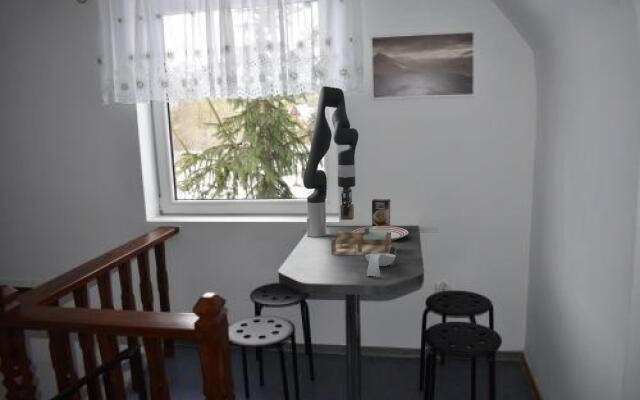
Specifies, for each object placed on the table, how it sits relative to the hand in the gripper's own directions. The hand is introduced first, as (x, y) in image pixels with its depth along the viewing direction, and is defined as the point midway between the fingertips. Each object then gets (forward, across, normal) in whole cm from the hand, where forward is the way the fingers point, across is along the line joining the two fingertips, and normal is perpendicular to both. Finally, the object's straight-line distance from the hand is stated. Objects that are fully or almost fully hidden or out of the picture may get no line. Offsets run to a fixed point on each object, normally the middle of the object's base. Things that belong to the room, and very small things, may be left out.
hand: (347, 214), depth 215 cm
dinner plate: (+17, -30, +11) cm, 36 cm away
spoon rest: (+17, +26, +16) cm, 35 cm away
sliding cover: (+9, 0, +12) cm, 15 cm away
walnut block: (+2, 0, 0) cm, 2 cm away
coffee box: (+17, -50, +10) cm, 54 cm away
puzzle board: (+16, 0, +6) cm, 18 cm away
